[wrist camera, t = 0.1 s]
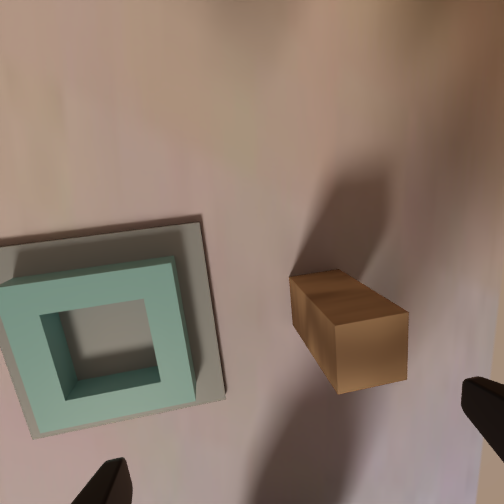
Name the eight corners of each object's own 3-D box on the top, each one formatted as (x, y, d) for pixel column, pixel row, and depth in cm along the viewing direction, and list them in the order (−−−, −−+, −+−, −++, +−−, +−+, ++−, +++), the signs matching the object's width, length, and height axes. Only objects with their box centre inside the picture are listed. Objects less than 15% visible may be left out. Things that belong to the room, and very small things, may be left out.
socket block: (225, 394, 24) (228, 418, 21) (36, 434, 22) (15, 465, 19) (199, 221, 20) (199, 226, 18) (-27, 250, 18) (-62, 259, 16)
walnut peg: (340, 316, 24) (407, 379, 16) (292, 324, 23) (338, 394, 15) (338, 269, 23) (408, 312, 15) (289, 277, 22) (334, 326, 15)
